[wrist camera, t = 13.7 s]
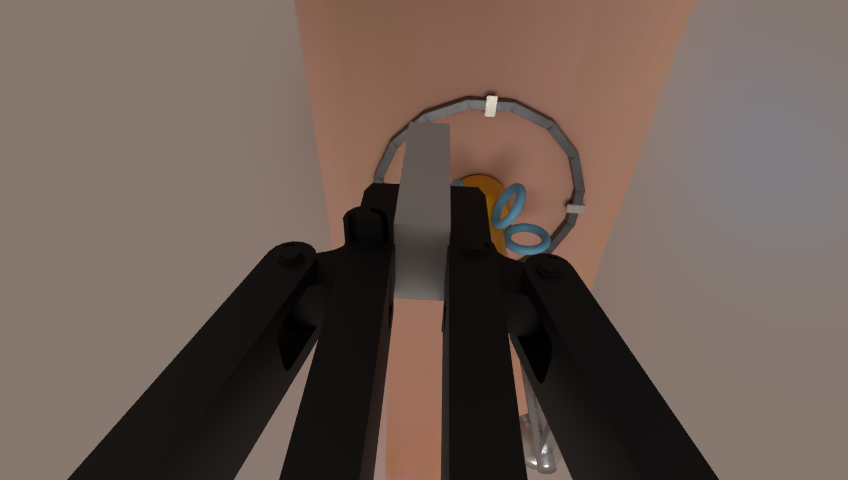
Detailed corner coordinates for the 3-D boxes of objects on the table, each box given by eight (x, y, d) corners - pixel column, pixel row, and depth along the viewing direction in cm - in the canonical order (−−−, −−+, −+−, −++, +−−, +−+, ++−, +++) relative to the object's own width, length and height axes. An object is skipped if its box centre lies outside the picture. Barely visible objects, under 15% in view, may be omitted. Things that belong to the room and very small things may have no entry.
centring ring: (368, 84, 40) (366, 88, 39) (614, 99, 40) (617, 104, 39) (371, 271, 53) (370, 277, 52) (558, 283, 53) (560, 289, 52)
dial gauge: (505, 268, 52) (531, 428, 36) (549, 271, 52) (595, 432, 36) (494, 321, 57) (513, 481, 41) (534, 323, 57) (568, 485, 41)
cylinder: (484, 260, 52) (497, 372, 39) (402, 219, 49) (389, 326, 37) (557, 178, 45) (599, 281, 33) (468, 125, 42) (478, 217, 30)
